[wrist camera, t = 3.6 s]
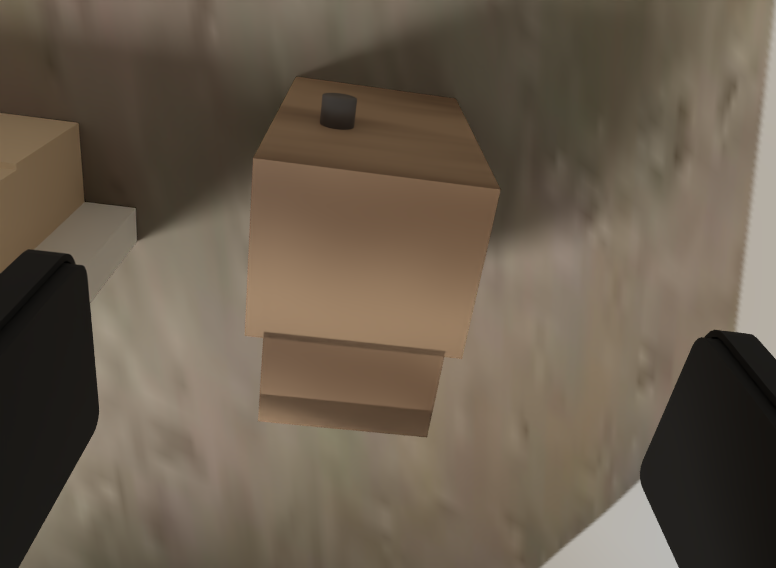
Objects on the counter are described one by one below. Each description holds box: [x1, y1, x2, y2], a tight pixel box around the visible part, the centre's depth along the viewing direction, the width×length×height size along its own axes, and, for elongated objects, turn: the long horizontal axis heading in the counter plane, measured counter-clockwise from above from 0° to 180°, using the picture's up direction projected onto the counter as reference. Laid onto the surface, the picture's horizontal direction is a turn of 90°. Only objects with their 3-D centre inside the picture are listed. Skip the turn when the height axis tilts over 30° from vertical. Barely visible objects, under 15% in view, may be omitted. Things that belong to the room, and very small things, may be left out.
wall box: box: [245, 77, 501, 437], centre depth 22 cm, size 9×6×10 cm
